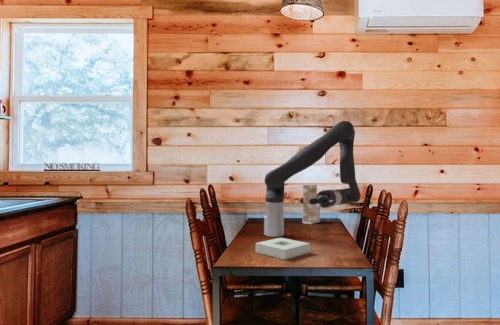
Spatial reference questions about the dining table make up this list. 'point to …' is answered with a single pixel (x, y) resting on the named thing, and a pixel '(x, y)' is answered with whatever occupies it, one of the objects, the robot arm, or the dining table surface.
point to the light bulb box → (317, 216)
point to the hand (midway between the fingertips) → (305, 201)
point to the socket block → (282, 248)
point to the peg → (309, 209)
